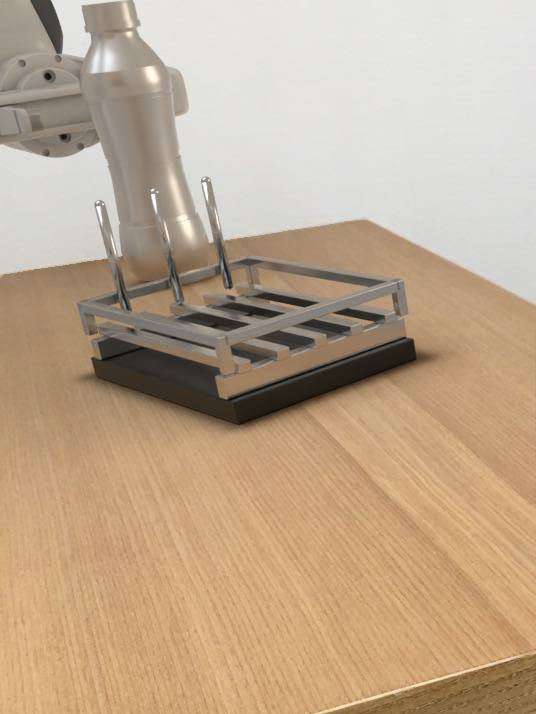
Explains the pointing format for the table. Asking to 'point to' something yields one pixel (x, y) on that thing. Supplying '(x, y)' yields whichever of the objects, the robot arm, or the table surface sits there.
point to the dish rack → (242, 331)
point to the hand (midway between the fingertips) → (91, 111)
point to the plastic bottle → (139, 141)
